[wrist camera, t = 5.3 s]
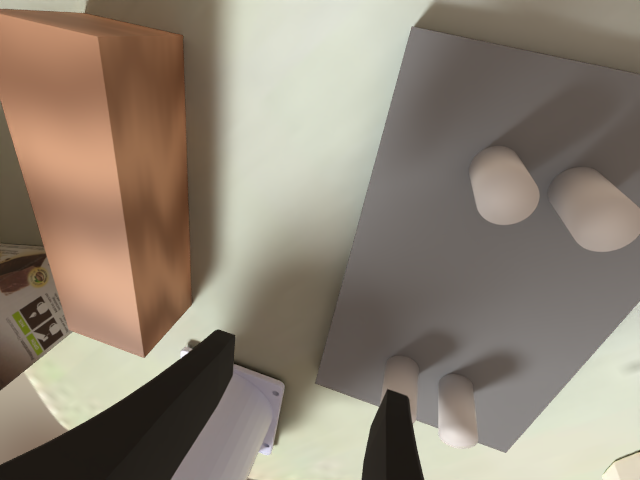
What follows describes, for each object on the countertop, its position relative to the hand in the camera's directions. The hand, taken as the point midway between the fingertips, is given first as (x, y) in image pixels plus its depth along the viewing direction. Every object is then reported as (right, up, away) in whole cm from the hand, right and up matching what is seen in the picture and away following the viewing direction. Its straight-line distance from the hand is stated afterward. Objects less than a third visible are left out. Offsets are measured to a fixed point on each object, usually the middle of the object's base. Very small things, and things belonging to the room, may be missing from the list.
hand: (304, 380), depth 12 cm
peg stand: (+8, +2, +6) cm, 10 cm away
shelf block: (-9, +8, +9) cm, 15 cm away
